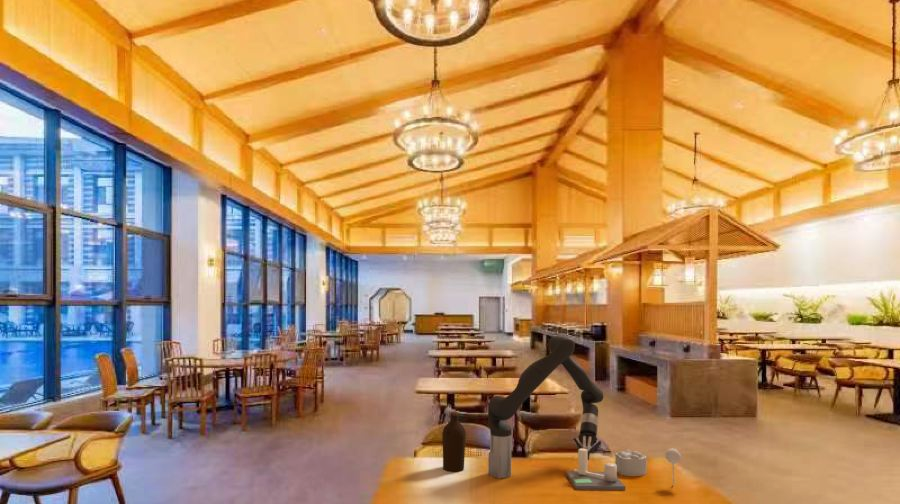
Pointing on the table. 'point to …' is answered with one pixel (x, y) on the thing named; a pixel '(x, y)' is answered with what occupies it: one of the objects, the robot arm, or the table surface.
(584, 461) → the beige u-shaped piece
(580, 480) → the green band
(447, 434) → the olive oil
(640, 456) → the lumpy-topped squat cylinder
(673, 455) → the lollipop
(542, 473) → the table surface
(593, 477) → the board
